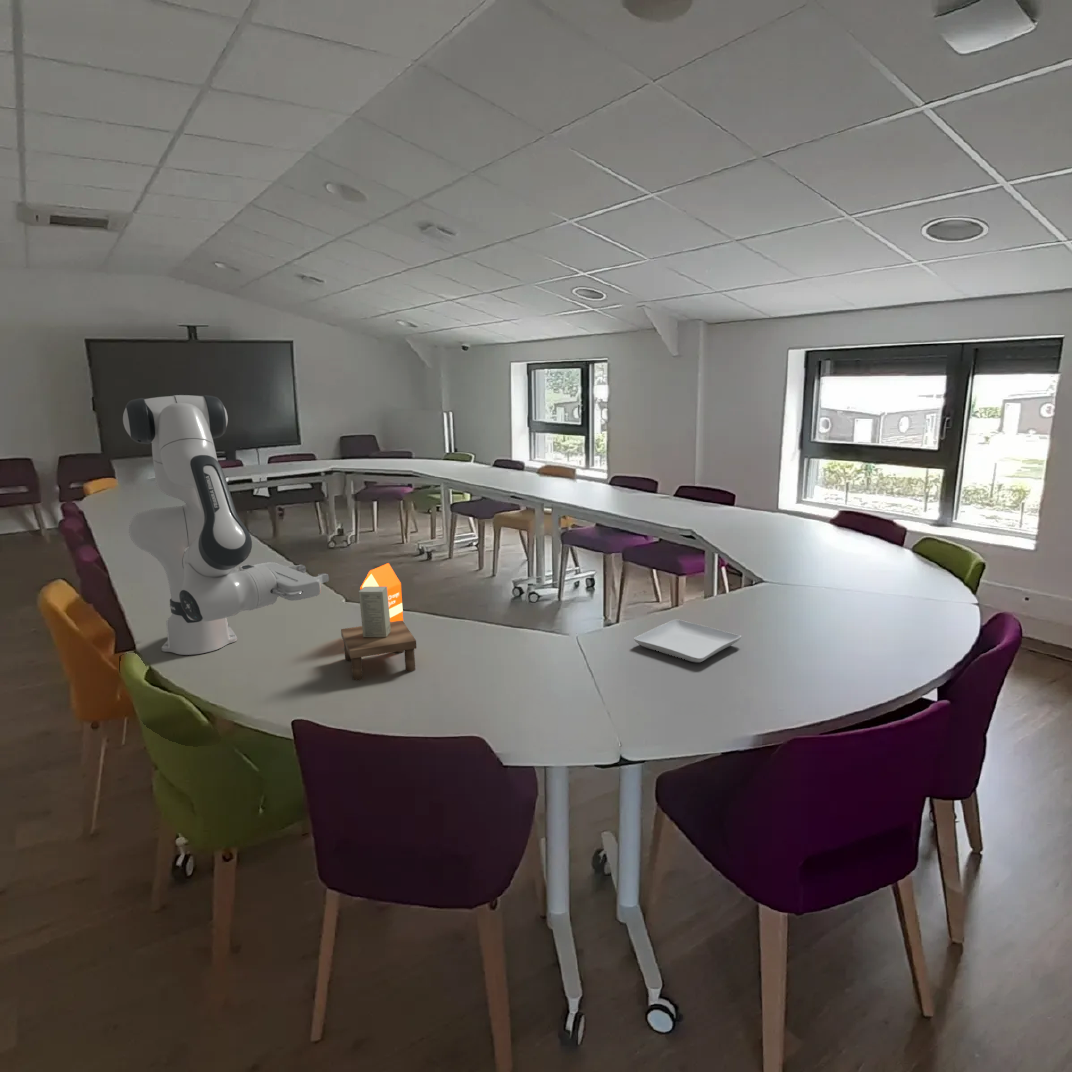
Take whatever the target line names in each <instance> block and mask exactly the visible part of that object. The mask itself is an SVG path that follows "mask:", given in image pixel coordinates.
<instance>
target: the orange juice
mask: <svg viewBox="0 0 1072 1072" xmlns="http://www.w3.org/2000/svg"><path fill="white" fill-rule="evenodd" d="M381 586H382V587H383V586H387V592H388V602H389V614H390V622H394V621H401V620H402V621H403V622H404V613H403V612H404V610H403V598H402V597H403V596H402V582H401V581H400V579H399V578H398V577H397V575H396V572H395V571H394V569H393V568H392V566H391V564H390V562H388V563H385V564H382V565H380V566H378V567H376V568H374V569H370V570H369V571H368V573H367V575H366V577H365V579H364V580H363V582H362V584H361V586H360V588H359V589H360V590H361V589H362V588H363V587H381ZM360 590H359V591H360Z"/></svg>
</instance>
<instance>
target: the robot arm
mask: <svg viewBox="0 0 1072 1072" xmlns="http://www.w3.org/2000/svg"><path fill="white" fill-rule="evenodd" d="M122 415H123V416H122V423H123V427H124V429H125V431H126V433H127V434H128V435H129V437H130V439H131V440H133V441H134V442H135V443H138V444H145V445H150V444H151V454H152V463H153V471H154V477H155V478H154V479H155V484H156V486H157V488H158V489H159V490H160V492H162V493H164V494H165V495H166V496H169V497H172V498H174V499H179V500H180V501H182V502H183V503H185V504H183V505H179V506H168V507H157V508H152V509H147V510H144V511H141V512H137V513H135V514H134V515H133V516H132V518H131V520H130V523H129V525H128V533H129V538H130V539H131V542H132V543H133V544H134V545H135V546H136V547H137V549H140V550H142V551H144V552H146V553H148V554H150V555H151V556H152V557H153V558H155V559H156V561H158V562H159V564H160V565H161V566H162V568H163V569H164V572H165V575H166V578H167V582H168V586H169V587H168V588H169V592H170V599H169V607H170V613H171V615H170V616H169V617H168V618H167V620H166V634H167V635H166V636H167V640H166V641H165V643H164V644H163V645H162V646H161V651H162V652H164V653H165V652H166V653H172V654H177V655H182V656H183V655H185V656H188V655H189V656H190V655H191V656H193V655H199V654H204V653H210V652H213V651H216V650H217V651H218V649H221V648H223V647H225V646H227V645H228V644H231V643H235V642H237V641H238V637H237V635H236V633H235V632H234V630H233V629H232V628H231V626H230V624H229V623H228V619H227V618H230V617H233V616H235V615H238V614H239V613H241V612H244V611H254V610H258V609H260V608H264V607H269V606H271V605H274V604H275V603H276V602H277V599H278V598H283V599H285V600H287V601H300V600H305V599H310V598H313V597H317V596H319V595H321V592H322V586H321V585H323V583H327V582H329V581H330V577H329V574H328V573H325V572H322V573H318V574H317V576H312V575H309V574H306V572H307V569H306V568H307V567H306V566H305V565H303V564H299V565H283V564H281V563H277V562H274V561H267V562H261V563H255V564H251V565H250V564H243V565H240V564H242V563H243V562H245V561H246V560H247V559H248V558H249V556H250V555H251V552H252V547H253V541H252V536H251V534H250V532H249V530H248V529H247V526H245V524H244V522H242V520H241V518H240V517H239V515H238V513H237V511H236V507H235V503H234V500H233V498H232V494H231V491H230V488H229V485H228V482H227V478H226V476H225V472H224V470H223V468H222V466H221V464H220V463H219V460H218V457H217V453H216V452H217V451H216V447H215V443H214V439H217V438H218V439H219V438H221V437H222V436H223V435H224V434H225V433H226V431H227V426H228V422H229V421H228V420H229V419H228V418H229V417H228V413H227V409H226V408H225V406H224V403H223V402H222V400H221V399H219V397H217V396H214V395H206V394H203V395H188V394H185V395H184V394H179V395H178V394H176V395H175V394H173V395H170V396H169V395H168V396H157V397H150V398H144V397H140V398H135V399H132V400H129V401H128V402H127V404H125V409H124V411H123V414H122ZM186 548H187V549H186ZM185 549H186V550H185ZM239 565H240V566H239ZM237 566H239V567H238V568H237Z"/></svg>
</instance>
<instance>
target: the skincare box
mask: <svg viewBox="0 0 1072 1072" xmlns="http://www.w3.org/2000/svg"><path fill="white" fill-rule="evenodd" d="M358 596H359V597H358V598H359V605H360V606H359V608H360V617H361V618H360V619H361V626H362V629H363V637H387V636H388V634H389V633H390V632H391V626H390V614H389V602H388V592H387V586H383V587H382V586H381V587H363V588H362V589H361V590H358Z"/></svg>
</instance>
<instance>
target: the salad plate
mask: <svg viewBox="0 0 1072 1072" xmlns="http://www.w3.org/2000/svg"><path fill="white" fill-rule="evenodd" d="M741 638H742V635H741V634H737V633H734V632H729V631H727V630H722V629H718V628H714V627H711V626H707V625H703V624H700V623H699V624H698V623H695V622H690V621H686V620H682V619H679V618H676V619H675V618H674V619H672V620H670V621H667V622H666V623H663V624H660V625H658V626H656V627H654V628H651V629H649V630H648V631H645V632H642V633H641V634H639V635H636V636H634V637H633V641H635V642H636V643H637V644H638V645H639V646H640V647H641V646H642V647H644V648H646V649H649V650H652V651H655V650H656V652H658V651H659V653H663V654H665V655H668V654H669V655H668V656H671V655H672V657H674V656H675V658H677V657H678V658H677V659H681V658H682V659H681V660H684V659H685V661H687V662H688V661H689V662H691V663H701V662H703V661H706V660H707V659H709V658H710V657H712V656H714V655H716V654H717V653H719V652H721V651H723V650H724V649H726V648H729V647H731V646H733V645H734V644H736V643H737V642H738V641H740V640H741Z"/></svg>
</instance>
